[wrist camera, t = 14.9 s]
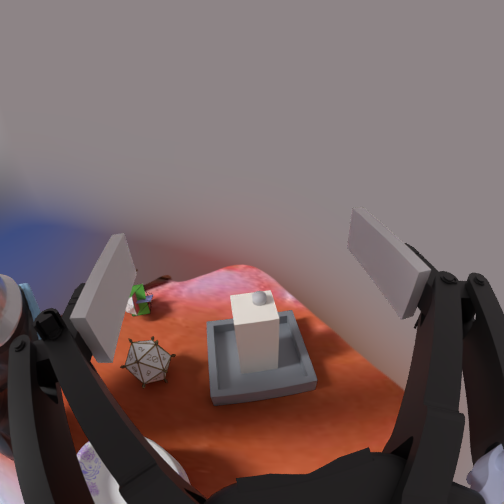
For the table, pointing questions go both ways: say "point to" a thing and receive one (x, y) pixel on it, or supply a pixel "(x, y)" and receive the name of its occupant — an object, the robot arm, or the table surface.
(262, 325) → the carton
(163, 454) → the white round bowl
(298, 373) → the tray
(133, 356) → the game die
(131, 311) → the geometric puzzle
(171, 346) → the table surface
